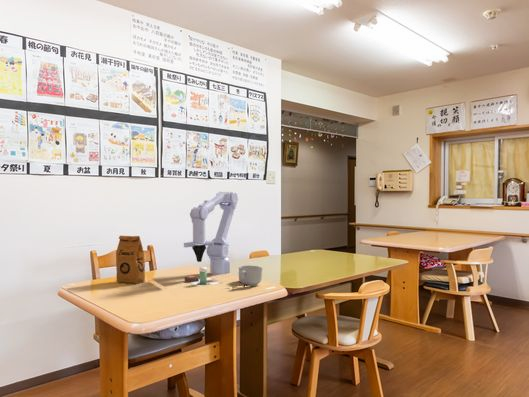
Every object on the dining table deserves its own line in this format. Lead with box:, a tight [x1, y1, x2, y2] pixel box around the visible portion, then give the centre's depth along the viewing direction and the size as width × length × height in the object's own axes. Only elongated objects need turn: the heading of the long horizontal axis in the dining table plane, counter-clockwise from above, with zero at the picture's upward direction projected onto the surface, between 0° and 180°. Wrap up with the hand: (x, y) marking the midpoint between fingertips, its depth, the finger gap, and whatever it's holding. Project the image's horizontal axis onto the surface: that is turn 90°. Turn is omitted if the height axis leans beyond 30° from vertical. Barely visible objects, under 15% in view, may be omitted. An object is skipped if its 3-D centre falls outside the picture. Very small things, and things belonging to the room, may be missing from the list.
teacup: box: [238, 264, 264, 287], centre depth 175 cm, size 14×11×8 cm
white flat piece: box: [184, 276, 223, 287], centre depth 177 cm, size 13×15×3 cm
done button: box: [186, 275, 197, 279], centre depth 178 cm, size 3×3×2 cm
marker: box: [198, 266, 208, 284], centre depth 172 cm, size 3×3×7 cm
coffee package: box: [115, 235, 146, 285], centre depth 182 cm, size 10×12×22 cm
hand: (199, 261), depth 183 cm, fingers closed
